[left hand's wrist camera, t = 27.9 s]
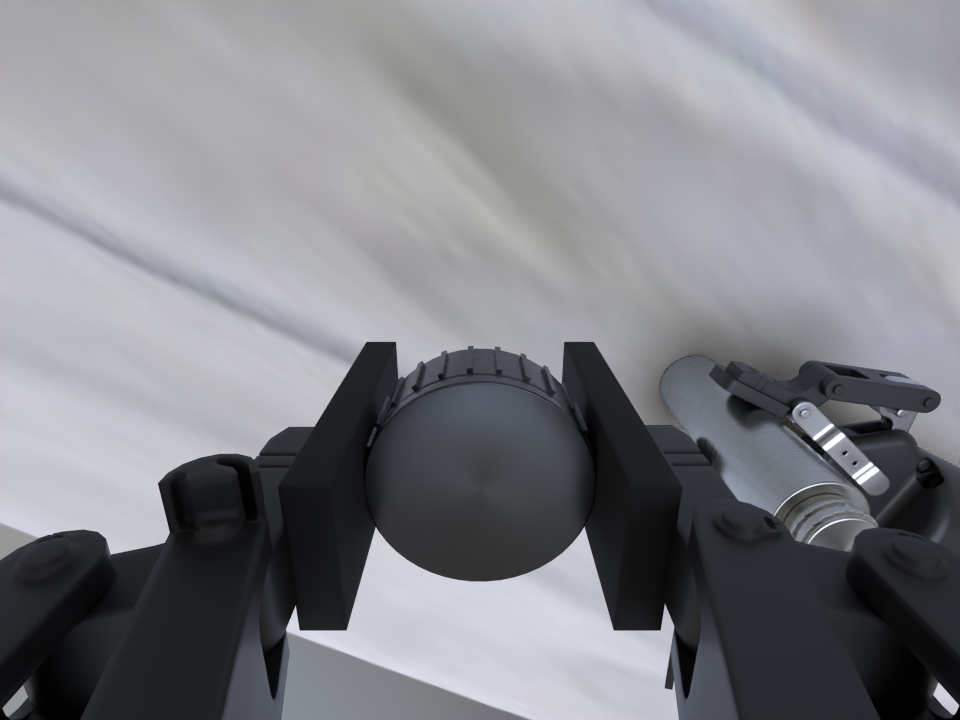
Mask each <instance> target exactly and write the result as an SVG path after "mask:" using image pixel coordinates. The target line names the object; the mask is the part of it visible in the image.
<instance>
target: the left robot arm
mask: <svg viewBox="0 0 960 720" xmlns="http://www.w3.org/2000/svg"><path fill="white" fill-rule="evenodd" d="M563 382H564V383H565V384H566V386H567V388H568V391H569V394H570V396H571V399H572V402H573V403H575V402H577V403H578V405H579V408H580V410H581V413H582V415H583V418H584V420H585V423H586V425H587V428H588V430H589V434H587V435H586V437H587V439H588V442H589V445H590V447H591V450H592V452H593V456H594V460H595V465H596V471H597V479H596V491H595V501H594V505H593V509H592V511H591V514H590V516H589V518H588V521H587V523H586V524H585V530H586V533H587V537H588V540H589V544H590V547H591V551H592V554H593V558H594V562H595V565H596V569H597V572H598V576H599V579H600V583H601V586H602V590H603V593H604V597H605V600H606V604H607V608H608V611H609V615H610V618H611V622H612V625H613V629H614V630H661V624H662V618H663V611H664V605H665V604H666V607H667V609H668V612H669V614H670V616H671V619H672V621H673V624H674V626H675V627H674V633H673V639H672V645H671V651H670V657H669V663H668V669H667V675H666V683H665V688H666V689H672V688H673V682H675V690H676V698H677V707H678V715H679V720H960V557H959V556H958V555H956V554H955V553H953V552H952V551H950V550H949V549H947V548H946V547H944V546H942V545H940V544H938V543H936V542H934V541H931V540H929V539H927V538H925V537H924V536H922V535H919V534H916V533H913V532H911V533H910V532H908V531H905V530H900V529H891V528H881V527H876V528H870V529H864V530H862V531H861V532H860V533H859V534H857V535H856V536H855V539H854V542H853V546H852V549H851V552H846V551H841V550H836V549H831V548H826V547H821V546H816V545H811V544H807V543H803V542H799V541H795V540H794V539H793V537H792V535H791V533H790V531H789V530H788V529H787V527H786V526H785V525H784V524H783V522H782V521H781V520H779V519H778V518H777V517H775V516H774V515H772V514H771V513H769V512H768V511H766V510H764V509H761V508H759V507H757V506H754V505H752V504H750V503H745V502H741V501H738V500H737V498H736V497H735V496H734V494H733V493H732V492H731V490H730V489H729V488H728V486H727V485H726V484H725V482H724V481H723V480H722V478H721V477H720V476H719V474H718V473H717V472H716V470H715V469H714V468H713V466H710V462H709V461H708V460H707V458H706V457H705V456H704V454H701V450H700V449H699V448H698V446H697V445H696V444H695V442H694V441H693V440H692V438H691V437H689V436H688V435H686V434H685V433H683V432H682V431H680V430H678V429H677V428H675V427H674V426H672V425H644V423H643V422H642V420H641V418H640V417H639V415H638V413H637V412H636V410H635V409H634V407H633V405H632V404H631V402H630V400H629V399H628V397H627V396H626V394H625V392H624V391H623V389H622V387H621V386H620V384H619V382H618V381H617V379H616V378H615V376H614V374H613V373H612V371H611V369H610V368H609V366H608V365H607V363H606V361H605V360H604V358H603V356H602V355H601V353H600V351H599V350H598V348H597V347H596V345H595V343H594V342H564V357H563V374H562V383H563ZM397 383H398V369H397V351H396V342H366V344H365V346H364V347H363V349H362V350H361V352H360V354H359V355H358V357H357V359H356V360H355V362H354V363H353V365H352V367H351V368H350V370H349V372H348V373H347V375H346V377H345V378H344V380H343V381H342V383H341V385H340V386H339V388H338V390H337V391H336V393H335V394H334V396H333V398H332V399H331V401H330V403H329V404H328V406H327V408H326V409H325V411H324V412H323V414H322V416H321V417H320V419H319V421H318V422H317V424H316V426H315V427H288V428H287V429H285V430H283V431H282V432H280V433H279V434H277V435H276V436H274V437H272V438H271V439H270V440H269V441H268V442H267V444H266V445H265V446H264V448H263V449H262V450H261V452H260V453H259V454H260V455H259V456H257V457H256V459H255V460H254V459H252V458H251V457H248V456H244V455H240V454H218V455H212V456H207V457H202V458H199V459H196V460H193V461H190V462H188V463H185V464H182V465H181V466H179V467H177V468H176V469H174V470H172V471H171V472H169V473H167V474H166V476H165V477H164V478H163V479H162V480H161V481H160V482H159V483H158V485H159V489H160V493H161V498H162V502H163V506H164V510H165V514H166V518H167V522H168V526H169V530H170V534H169V536H168V538H167V540H166V542H165V543H163V544H159V545H155V546H151V547H146V548H141V549H137V550H132V551H127V552H122V553H117V554H112V555H111V554H110V551H109V547H108V544H107V541H106V538H104V537H103V536H102V535H101V534H100V533H98V532H94V531H88V530H75V531H65V532H59V533H54V534H53V535H47V536H44V537H41V538H39V539H37V540H35V541H33V542H31V543H29V544H27V545H25V546H22V547H20V548H18V549H17V550H15V551H14V552H12V553H11V554H9V555H8V556H6V557H5V558H3V559H2V560H0V720H281V716H282V708H283V700H284V691H285V683H286V675H287V667H288V659H289V646H288V639H287V633H286V627H287V625H288V623H289V620H290V618H291V615H292V613H293V610H294V608H295V606H296V609H297V615H298V622H299V628H300V630H347V627H348V623H349V619H350V616H351V612H352V609H353V605H354V602H355V598H356V595H357V591H358V588H359V584H360V580H361V577H362V573H363V570H364V566H365V563H366V559H367V556H368V552H369V549H370V545H371V541H372V538H373V534H374V531H375V527H376V526H375V524H374V522H373V520H372V518H371V515H370V513H369V510H368V508H367V504H366V498H365V487H364V466H365V462H366V458H367V454H368V451H367V444H368V441H369V439H370V436H371V434H372V431H373V429H374V425H375V423H376V420H377V417H378V415H379V412H380V410H381V407H382V405H383V402H384V400H385V398H386V396H388V397H391V395H392V393H393V392H394V390H395V389H396V386H397ZM938 682H939V683H940V684H941V685H942V686H943V687H944V689H945V690H946V691H947V692H948V693H949V694H950V695H951V696H952V698H953V699H954V700H955V701H956V702H957V703H958V704H959V708H958V710H957V712H956V714H955V715H952V714H951V713H950V712H948V711H947V710H946V709H945V708H944V707H943V706H942V705H941V704H940V703H939V701H938V700H937V699H936V698H935V697H934V696H933V694H934V692H935V689H936V687H937V684H938ZM22 685H23V686H24V688H25V691H26V693H27V695H28V698H27V699H26V700H25V702H24V703H23V704H22V705H21V706H20V707H19V709H17V710H16V711H15V712H14V713H13V714H12V715H10V716H9V717H7V716H6V715H5V713H4V711H3V709H2V708H3V707H4V706H5V705H6V703H7V702H8V701H9V700H10V699H11V698H12V697H13V696H14V694H15V693H16V692H17V691H18V690H19V689H20V688H21V686H22Z"/></svg>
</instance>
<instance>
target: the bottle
mask: <svg viewBox="0 0 960 720" xmlns="http://www.w3.org/2000/svg"><path fill="white" fill-rule="evenodd" d="M715 365H716V363H715V362H714V361H712V360H711V359H709V358H706V357H702V356H689V357H685V358H682V359H680V360H678V361H676V362H675V363H673V364H672V365H671V366H670V367H669V368H668V369H667V370H666V372H665V373H664V375H663V377H662V380H661V384H660V393H661V397H662V399H663V401H664V402H665V404H666V405H667V406H668V408H669V409H670V410H671V412H672V413H673V414H674V416H675V417H676V419H677V420H678V421H679V423H680V424H681V425H682V427H683V428H684V429H685V431H686V432H687V433H688V435H689V436H690V437H691V438H692V440H693V441H694V442H695V444H696V445H697V446H698V448H699V449H700V450H701V452H702V453H703V454H704V456H705V457H706V458H707V460H708V461H709V462H710V464H711V465H712V466H713V468H714V469H715V470H716V472H717V473H718V474H719V476H720V477H721V478H722V480H723V481H724V482H725V484H726V485H727V486H728V488H729V489H730V490H731V492H732V493H733V494H734V496H735V497H736V498H737V500H738V501H741V502H745V503H750V504H752V505H754V506H757V507H759V508H761V509H764V510H766V511H768V512H769V513H771V514H772V515H774V516H775V517H777V518H778V519H779V520H781V521H782V522H783V524H784V525H785V526H786V527H787V529H788V530H789V531H790V533H791V535H792V537H793V539H794V540H795V541H799V542H803V543H807V544H811V545H816V546H821V547H826V548H831V549H836V550H841V551H846V552H851V549H852V546H853V542H854V539H855V536H856V535H857V534H859V533H860V532H861V531H862V530H864V529H870V528H876V527H878V524H877V522H876V521H875V520H874V519H873V517H872V516H871V515H870V508H869V504H868V502H867V500H866V498H865V496H864V495H863V494H862V493H861V492H860V491H859V490H858V489H857V488H856V487H855V486H854V485H853V484H851V483H850V482H849V481H848V480H847V479H846V478H845V477H844V476H842V475H841V474H840V473H839V472H838V471H837V470H836V469H834V468H833V467H832V466H831V465H830V464H829V463H828V462H827V461H825V460H824V459H823V458H822V457H821V456H820V455H819V454H818V453H816V452H815V451H814V450H813V449H812V448H811V447H810V446H809V445H807V444H806V443H805V442H804V441H803V440H802V439H801V438H799V437H798V436H797V435H796V434H795V433H794V432H793V431H792V430H790V429H789V428H788V427H787V426H786V425H785V424H784V423H783V422H781V421H780V420H779V419H778V418H777V417H776V416H775V415H774V414H772V413H770V412H768V411H766V410H764V409H762V408H760V407H758V406H756V405H754V404H752V403H750V402H748V401H746V400H744V399H742V398H740V397H738V396H736V395H734V394H732V393H730V392H728V391H726V390H725V389H723V388H722V387H720V386H719V385H718V384H717V383H716V382H715V381H714V380H713V379H712V378H711V377H710V376H709V375H708V374H709V373H710V372H711V370H712V369H713V367H714V366H715Z"/></svg>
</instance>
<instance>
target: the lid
mask: <svg viewBox="0 0 960 720" xmlns="http://www.w3.org/2000/svg"><path fill="white" fill-rule="evenodd" d="M587 434H589V430H588V428H587V425H586V423H585V420H584V418H583V415H582V413H581V410H580V408H579V405H578V403H577V402H575V403H573V402H572V399H571V396H570V394H569V391H568V388H567V386H566V384H565V383H564V382H563V383H561V384H560V383H559V382H558V381H557V380H556V379H555V378H554V377H553V376H552V375H551V374H550V371H549V368H548V367H546V366H545V365H544V366H543V368H542V367H541V366H539V365H537V364H536V363H534V362H532V361H530V360H528V359H527V358H526V355H525V354H522V353H521V355H520V356H519V355H516V354H512V353H509V352H505V351H501V350H500V347H495V350H492V349H473V346H468V350H460V351H456V352H452V353H447V351H444V352H442V353H441V356H439V357H437V358H434V359H432V360H430V361H428V362H426V363H425V364H424V363H423V361H421V362H420V363H418V366H417V369H415V370H414V371H413V372H411V373H410V374H409V375H408V376H407V377H406V378H405V379H404V378H403V377H401V378H400V379H399V380H398V383H397V386H396V389H395V390H394V392H393V393H392V395H391V397H388V396H386V398H385V400H384V402H383V405H382V407H381V410H380V412H379V415H378V417H377V420H376V423H375V425H374V429H373V431H372V434H371V436H370V439H369V441H368V444H367V451H368V454H367V458H366V462H365V466H364V487H365V498H366V504H367V508H368V510H369V513H370V515H371V518H372V520H373V522H374V524H375V526H376V527H377V529H378V531H379V532H380V533H381V535H382V536H383V537H384V539H385V540H386V541H387V542H388V543H389V544H390V545H391V546H392V547H393V548H394V549H395V550H396V551H397V552H398V553H399V554H401V555H402V556H403V557H404V558H406V559H407V560H409V561H410V562H412V563H414V564H415V565H417V566H418V567H421V568H423V569H425V570H427V571H429V572H432V573H435V574H438V575H441V576H444V577H448V578H452V579H457V580H465V581H496V580H503V579H508V578H513V577H516V576H519V575H523V574H526V573H528V572H531V571H533V570H535V569H538V568H540V567H542V566H543V565H545V564H547V563H548V562H550V561H552V560H553V559H554V558H556V557H557V556H558V555H560V554H561V553H562V552H563V551H565V550H566V549H567V548H568V547H569V546H570V545H571V544H572V543H573V541H574V540H575V539H576V538H577V536H578V535H579V534H580V533H581V531H582V529H583V528H584V526H585V524H586V523H587V521H588V518H589V516H590V514H591V511H592V509H593V505H594V501H595V491H596V479H597V471H596V465H595V460H594V456H593V452H592V450H591V447H590V445H589V442H588V439H587V437H586V435H587Z"/></svg>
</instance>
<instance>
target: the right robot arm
mask: <svg viewBox="0 0 960 720" xmlns="http://www.w3.org/2000/svg"><path fill="white" fill-rule="evenodd" d="M708 375H709V376H710V377H711V378H712V379H713V380H714V381H715V382H716V383H717V384H718V385H719V386H720V387H722V388H723V389H725V390H726V391H728V392H730V393H732V394H734V395H736V396H738V397H740V398H742V399H744V400H746V401H748V402H750V403H752V404H754V405H756V406H758V407H760V408H762V409H764V410H766V411H768V412H770V413H772V414H774V415H776V416H778V417H780V418H782V419H783V418H784V416H785V415H786V416H787V417H788V419H789V420H790V421H791V422H792V423H793V424H794V425H795V426H796V427H797V428H798V429H799V430H800V431H801V432H802V433H803V434H804V435H803V436H802V438H801V439H802V440H803V441H804V442H805V443H806V444H807V445H809V446H810V447H811V448H812V449H813V450H814V451H815V452H816V453H818V454H819V455H820V456H821V457H822V458H823V459H824V460H825V461H827V462H828V463H829V464H830V465H831V466H832V467H833V468H834V469H836V470H837V471H838V472H839V473H840V474H841V475H842V476H844V477H845V478H846V479H847V480H848V481H849V482H850V483H851V484H853V485H854V486H855V487H856V488H857V489H858V490H859V491H860V492H861V493H862V494H863V495H864V496H865V498H866V500H867V502H868V504H869V508H870V515H871V516H872V517H873V519H874V520H875V521H876V522H877V524H878V527H881V528H891V529H900V530H905V531H908V532H910V533H911V532H913V533H916V534H919V535H922V536H924V537H925V538H927V539H929V540H931V541H934V542H936V543H938V544H940V545H942V546H944V547H946V548H947V549H949V550H950V551H952V552H953V553H955V554H956V555H958V556H959V557H960V468H958V467H956V466H954V465H952V464H950V463H948V462H946V461H945V460H943V459H941V458H939V457H937V456H935V455H933V454H931V453H929V452H927V451H925V450H923V449H921V448H919V447H918V446H917V443H916V441H915V439H914V438H913V436H912V435H911V434H909V433H908V431H909V429H910V427H911V425H912V423H913V421H914V419H915V417H916V415H917V413H918V412H922V413H928V412H931V411H933V410H934V409H936V408H937V407H938V405H939V404H940V401H941V397H940V395H939V393H937V392H935V391H933V390H932V389H930V388H928V387H926V386H924V385H922V384H920V383H918V382H916V381H914V380H912V379H910V378H909V377H907V376H905V375H903V374H901V373H896V372H889V371H882V370H875V369H868V368H861V367H854V366H847V365H840V364H833V363H826V362H819V361H808V362H806V363H804V364H803V365H802V366H801V368H800V370H799V375H798V376H797V377H795V378H794V379H792V380H790V381H787V382H780V381H777V380H775V379H773V378H771V377H769V376H767V375H765V374H763V373H761V372H759V371H757V370H756V369H754V368H752V367H750V366H748V365H746V364H744V363H742V362H733V361H731V362H730V364H729V365H728V366H727V368H724V367H722V366H720V365H718V364H716V365H715V366H714V367H713V369H712V370H711V372H710V373H709V374H708ZM829 399H831V400H836V401H843V402H850V403H857V404H864V405H869V406H870V407H871V408H872V409H873V410H875V411H876V412H878V413H880V414H881V420H876V421H868V422H861V423H854V424H847V425H840V426H834V425H833V424H832V423H831V422H830V421H829V420H828V419H827V418H826V417H825V416H824V414H823V413H822V412H821V411H820V410H819V409H818V407H819V406H820V405H822V404H823V403H825V402H826V401H827V400H829ZM701 454H703V453H702V452H701ZM710 466H712V465H711V464H710Z"/></svg>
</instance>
